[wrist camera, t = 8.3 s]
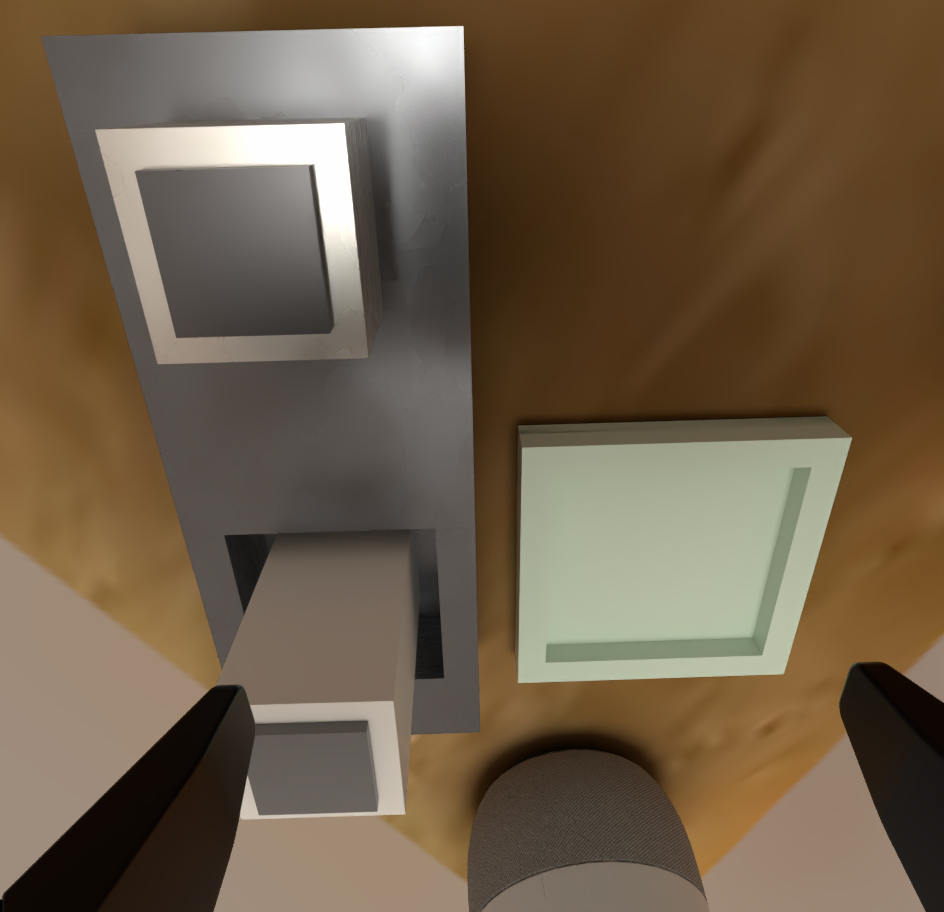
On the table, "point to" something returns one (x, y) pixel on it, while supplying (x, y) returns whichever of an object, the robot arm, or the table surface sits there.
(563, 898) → the smart speaker
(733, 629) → the tray
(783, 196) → the table surface
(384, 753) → the plug
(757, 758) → the table surface
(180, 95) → the grey socket block
